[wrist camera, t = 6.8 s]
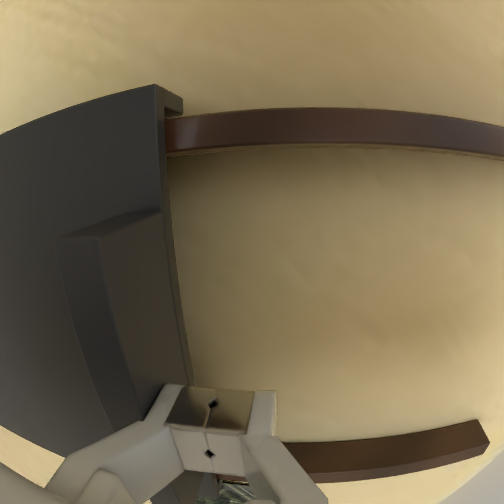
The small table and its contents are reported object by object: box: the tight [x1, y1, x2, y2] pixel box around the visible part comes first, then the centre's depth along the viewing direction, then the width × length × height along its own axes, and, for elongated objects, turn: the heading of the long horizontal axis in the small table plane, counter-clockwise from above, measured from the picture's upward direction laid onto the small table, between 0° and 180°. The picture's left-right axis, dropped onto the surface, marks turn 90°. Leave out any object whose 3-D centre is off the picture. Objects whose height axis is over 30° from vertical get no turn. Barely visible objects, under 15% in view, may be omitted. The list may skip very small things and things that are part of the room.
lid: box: [0, 84, 223, 504], centre depth 10 cm, size 17×17×5 cm
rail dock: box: [164, 107, 504, 483], centre depth 11 cm, size 35×15×2 cm, turn 93°
